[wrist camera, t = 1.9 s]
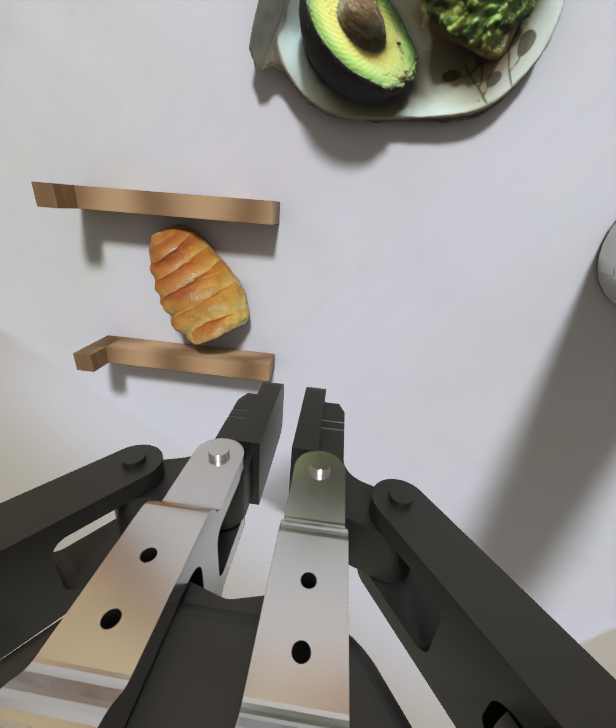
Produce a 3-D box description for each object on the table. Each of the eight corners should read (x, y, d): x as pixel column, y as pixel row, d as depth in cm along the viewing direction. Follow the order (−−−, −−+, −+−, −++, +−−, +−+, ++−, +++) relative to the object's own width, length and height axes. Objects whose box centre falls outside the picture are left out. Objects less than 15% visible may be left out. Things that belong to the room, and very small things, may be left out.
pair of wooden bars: (279, 202, 25) (266, 200, 21) (274, 368, 31) (263, 392, 27) (79, 186, 26) (31, 181, 22) (110, 350, 32) (77, 369, 28)
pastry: (139, 247, 28) (110, 252, 25) (204, 208, 26) (182, 207, 23) (200, 343, 31) (182, 360, 28) (262, 314, 29) (251, 327, 26)
